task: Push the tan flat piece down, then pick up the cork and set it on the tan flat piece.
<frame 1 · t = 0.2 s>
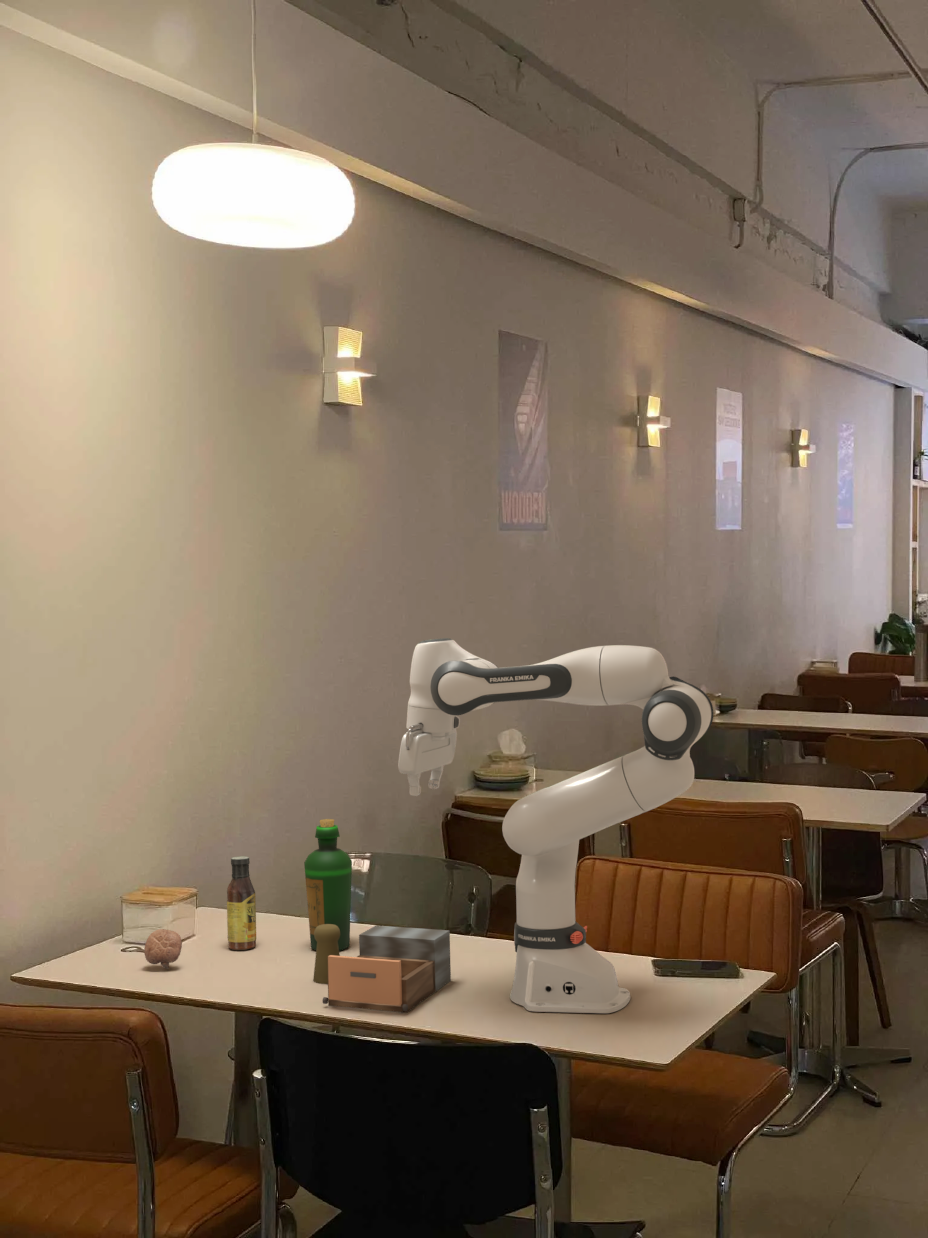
hand: (424, 792, 269), 38 cm above the table, tool pointing down, fingers open, 8 cm apart
bottle: (330, 949, 303), on the table
cork: (328, 981, 278), on the table
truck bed: (382, 998, 264), on the table
mushroom: (164, 970, 289), on the table
tan flat piece: (364, 980, 256), point 6 cm above the table, hinge at 0.0°
sauce bottle: (242, 948, 306), on the table
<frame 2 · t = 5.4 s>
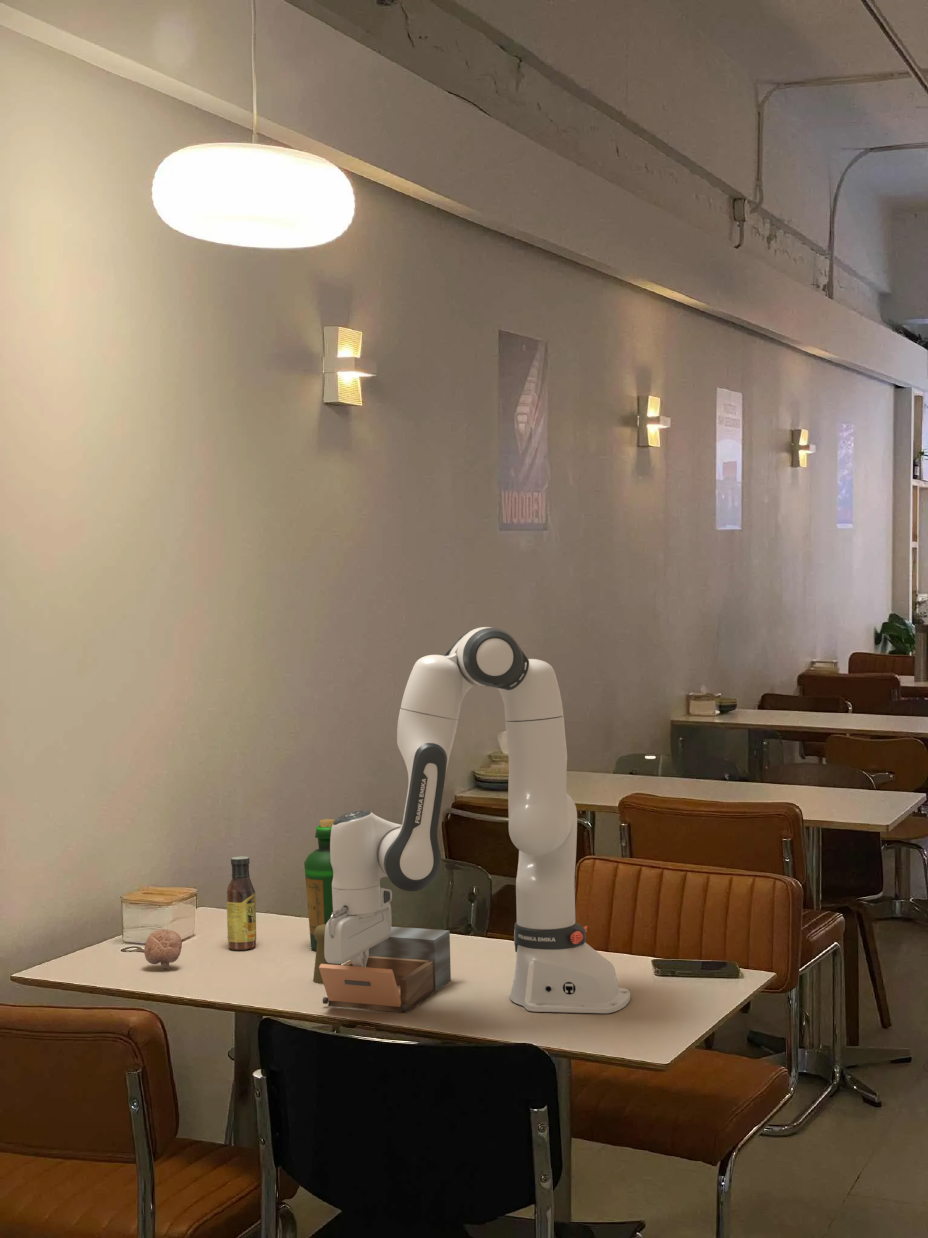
hand: (360, 975, 255), 7 cm above the table, tool pointing down, fingers closed, pressing on tan flat piece
tan flat piece: (359, 985, 255), point 5 cm above the table, hinge at 27.4°, touching gripper
everything else where it was.
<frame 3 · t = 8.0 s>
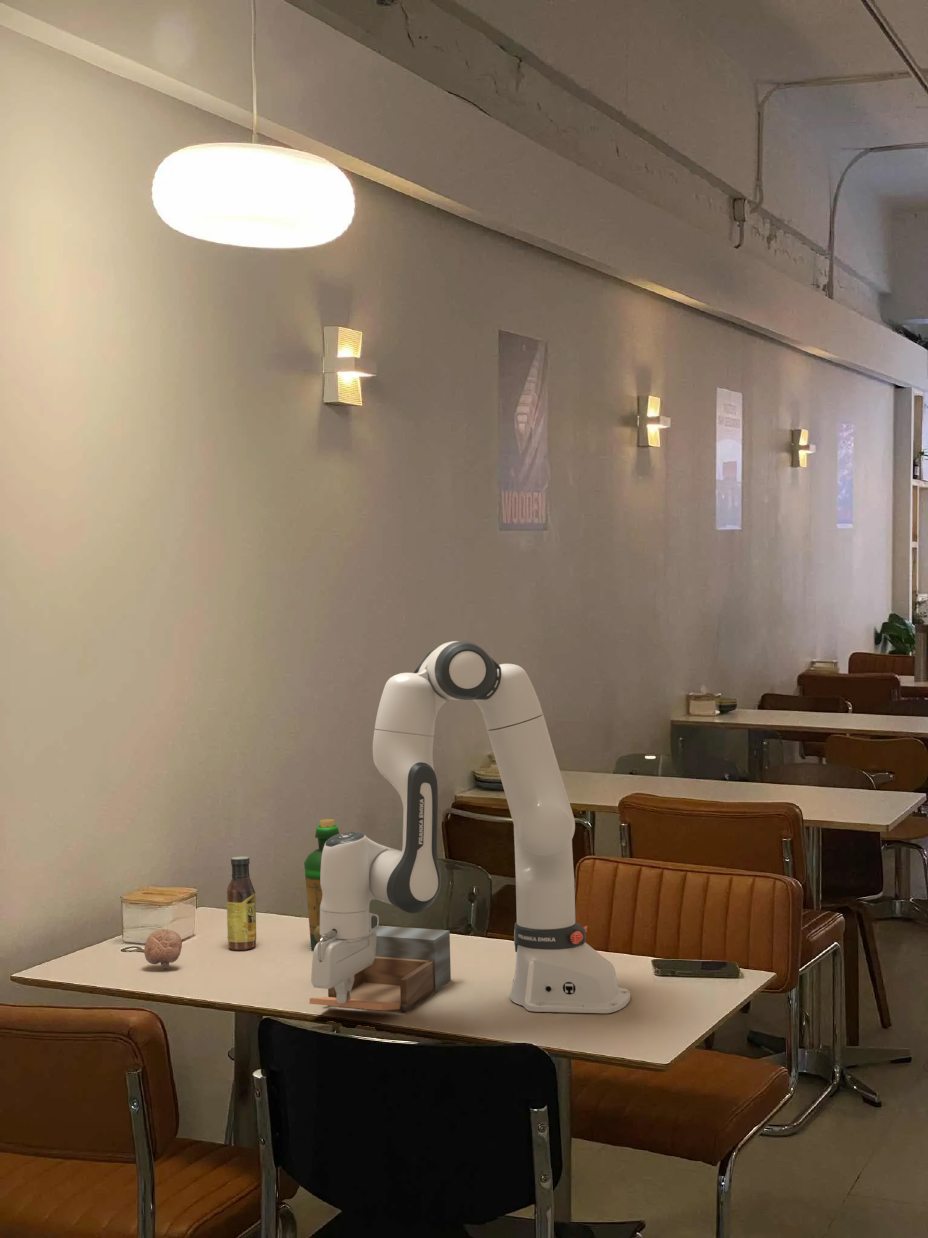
hand: (343, 1001, 249), 4 cm above the table, tool pointing down, fingers closed, pressing on tan flat piece
tan flat piece: (354, 1004, 252), point 2 cm above the table, hinge at 75.7°, touching gripper
everything else where it was.
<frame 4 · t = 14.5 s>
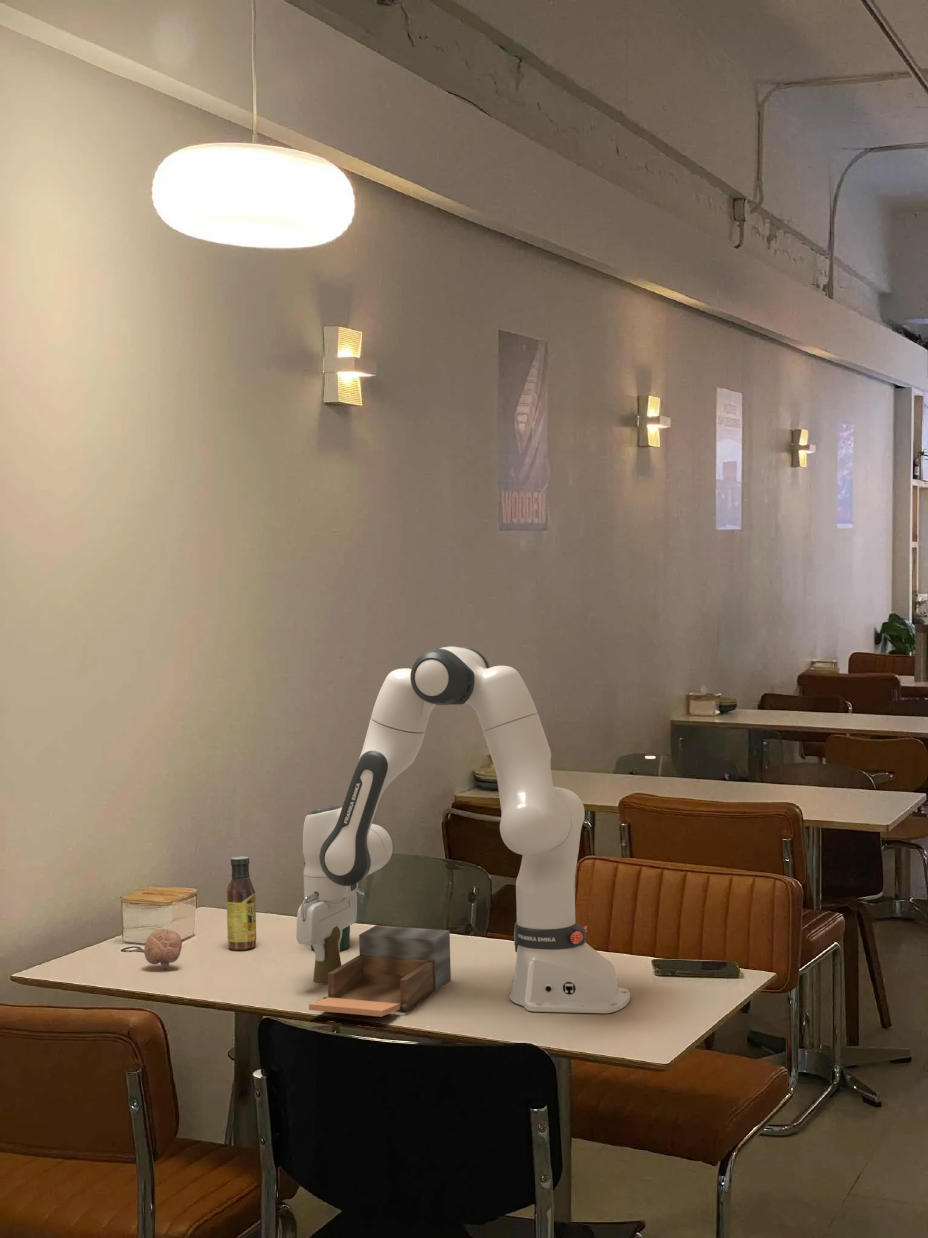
hand: (327, 956, 278), 5 cm above the table, tool pointing down, fingers closed on cork, 4 cm apart
cork: (328, 980, 278), on the table, touching gripper
tan flat piece: (354, 1007, 252), point 2 cm above the table, hinge at 83.1°
everything else where it was.
when the fingers open (8 cm above the table, at t = 20.2 s): cork stays where it is, resting on tan flat piece.
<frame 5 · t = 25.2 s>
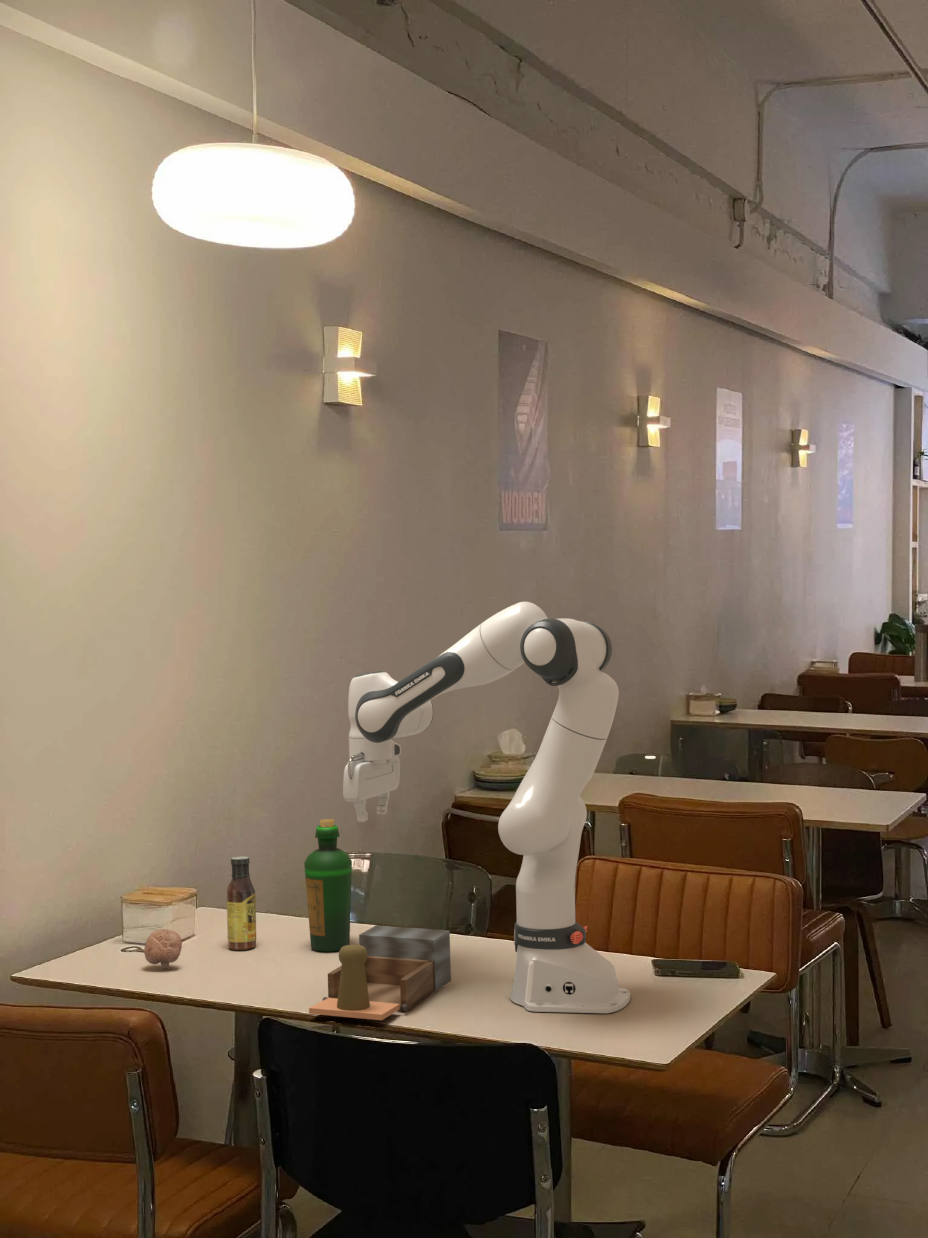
hand: (372, 818, 285), 31 cm above the table, tool pointing down, fingers open, 8 cm apart
cork: (353, 1007, 252), point 2 cm above the table, touching tan flat piece
tan flat piece: (354, 1009, 252), point 1 cm above the table, hinge at 87.5°, touching cork
everything else where it was.
at the end: tan flat piece at +88° (first picture: +0°); cork inside the target area on the table beside the tan flat piece (0.5 cm from its centre), point 0.7 cm above the table; cork tilted 3° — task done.
